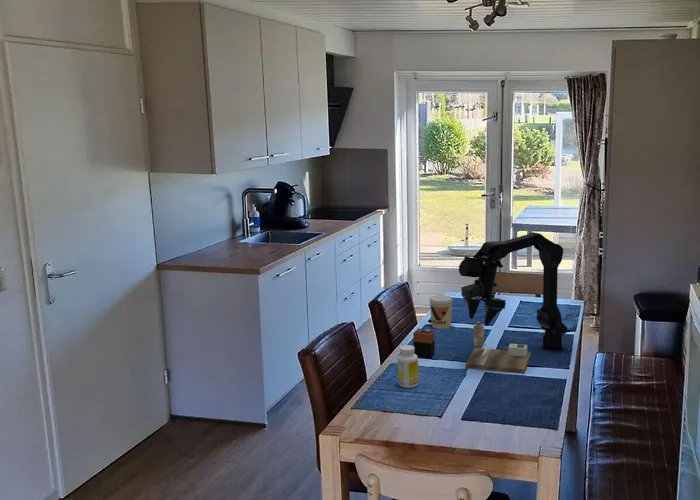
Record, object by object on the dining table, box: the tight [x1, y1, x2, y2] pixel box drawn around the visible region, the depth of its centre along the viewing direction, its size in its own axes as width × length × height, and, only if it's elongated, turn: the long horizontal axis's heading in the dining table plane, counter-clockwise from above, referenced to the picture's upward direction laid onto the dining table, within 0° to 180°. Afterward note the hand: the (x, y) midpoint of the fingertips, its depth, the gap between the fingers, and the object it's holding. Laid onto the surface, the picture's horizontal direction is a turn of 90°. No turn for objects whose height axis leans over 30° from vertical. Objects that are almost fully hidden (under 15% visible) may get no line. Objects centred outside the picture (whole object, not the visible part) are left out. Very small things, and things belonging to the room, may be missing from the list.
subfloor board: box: [465, 347, 532, 374], centre depth 248 cm, size 20×17×2 cm
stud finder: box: [508, 343, 528, 357], centre depth 250 cm, size 6×4×3 cm, turn 69°
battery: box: [412, 327, 436, 359], centre depth 257 cm, size 4×7×10 cm, turn 61°
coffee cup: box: [429, 294, 453, 330], centre depth 289 cm, size 9×9×12 cm
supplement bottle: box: [397, 344, 419, 389], centre depth 230 cm, size 7×7×13 cm
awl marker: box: [473, 320, 485, 348], centre depth 266 cm, size 3×3×9 cm
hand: (478, 322), depth 246 cm, fingers open, 9 cm apart
